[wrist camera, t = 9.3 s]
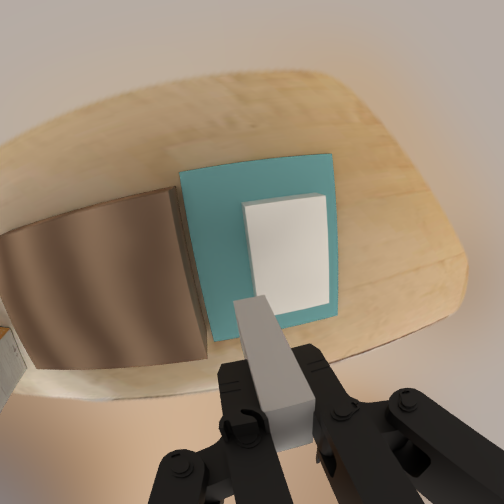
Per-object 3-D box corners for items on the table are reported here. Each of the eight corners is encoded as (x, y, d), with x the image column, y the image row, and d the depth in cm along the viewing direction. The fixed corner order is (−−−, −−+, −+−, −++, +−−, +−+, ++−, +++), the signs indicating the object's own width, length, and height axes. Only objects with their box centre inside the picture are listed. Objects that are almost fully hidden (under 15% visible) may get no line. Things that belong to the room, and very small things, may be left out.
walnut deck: (51, 346, 22) (36, 368, 18) (7, 232, 18) (-17, 244, 14) (206, 330, 24) (207, 358, 20) (175, 186, 20) (168, 191, 16)
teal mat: (214, 338, 25) (214, 341, 24) (179, 172, 20) (179, 172, 19) (335, 312, 26) (337, 315, 25) (329, 153, 21) (331, 153, 20)
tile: (329, 303, 22) (320, 292, 24) (325, 195, 19) (315, 192, 21) (259, 318, 22) (255, 306, 24) (244, 206, 19) (241, 202, 21)
